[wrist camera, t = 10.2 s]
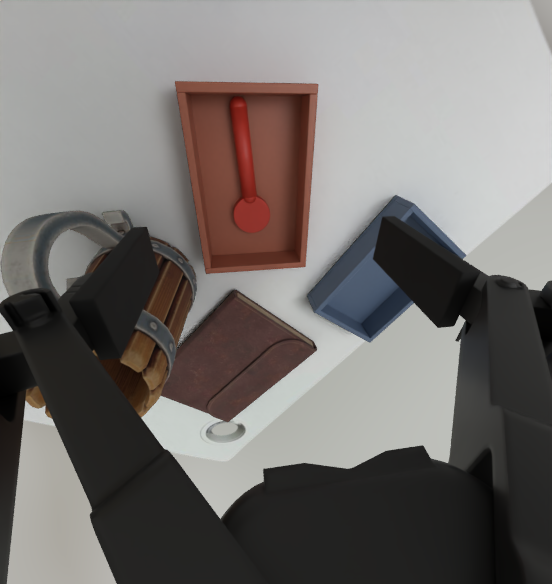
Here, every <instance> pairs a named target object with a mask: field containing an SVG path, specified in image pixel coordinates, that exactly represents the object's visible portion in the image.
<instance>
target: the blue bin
mask: <svg viewBox="0 0 552 584" xmlns="http://www.w3.org/2000/svg"><path fill="white" fill-rule="evenodd" d="M384 216H395V217H397V218H398V219H400V220H401V221H403V222H405V223H406V224H408V225H409V226H411V227H412V228H414V229H415V230H417V231H418V232H420V233H422V234H423V235H425V236H426V237H428V238H429V239H431V240H432V241H434V242H435V243H437V244H439V245H440V246H442V247H443V248H445V249H446V250H448V251H449V252H451V253H453V254H455V255H457V256H458V257H460V258H461V259H463V258H464V257H465V256H466V254H465V253H464V252H462V251H461V250H460V249H459V248H458V247H457V246H456V245H455V244H454V243H453V242H452V241H451V240H450V239H449V238H448V237H447V236H446V235H445V234H444V233H443V232H442V231H441V230H440V229H439V228H438V227H437V226H436V225H435V224H434V223H433V222H432V221H431V220H430V219H429V218H428V217H427V216H426V215H425V214H424V213H423V212H422V211H421V210H420V209H419V208H418V207H417V206H416V205H415V204H414V203H412V202H409V201H407V200H405V199H403V198H401V197H399V196H397V195H396V196H395V197H394V198H393V199H392V200H391V201H390V203H389V204H388V205H387V206H386V207H385V208H384V209H383V210H382V212H381V213H380V214H379V215H378V216H377V217H376V218H375V219H374V221H373V222H372V223H371V224H370V225H369V226H368V227H367V229H366V230H365V231H364V232H363V233H362V234H361V235H360V236H359V238H358V239H357V240H356V241H355V242H354V243H353V244H352V245H351V247H350V248H349V249H348V250H347V251H346V252H345V253H344V255H343V256H342V257H341V258H340V259H339V260H338V261H337V262H336V264H335V265H334V266H333V267H332V268H331V269H330V270H329V271H328V273H327V274H326V275H325V276H324V277H323V278H322V279H321V280H320V282H319V283H318V284H317V285H316V286H315V287H314V288H313V290H312V291H311V292H310V293H309V294H308V295H307V297H308V299H309V302H310V304H311V306H312V309H313V311H314V312H315V313H316V314H318V315H320V316H322V317H324V318H326V319H327V320H329V321H331V322H333V323H335V324H337V325H338V326H340V327H342V328H344V329H346V330H348V331H349V332H351V333H353V334H355V335H357V336H359V337H360V338H362V339H364V340H366V341H368V342H371V341H372V340H373V339H374V338H376V337H377V336H378V335H379V334H380V333H381V332H382V331H383V330H385V329H386V327H388V326H389V325H390V324H391V323H392V322H393V321H394V320H395V319H397V318H398V317H399V316H400V315H401V314H402V313H403V312H404V311H406V310H407V309H408V308H409V307H410V306H411V305H412V304H413V303H414V302H413V301H412V300H411V299H410V298H409V297H408V296H407V295H406V294H405V293H404V292H403V291H402V289H401V288H400V287H399V286H398V285H397V284H396V283H395V282H394V281H393V280H392V279H391V278H390V277H389V276H388V275H387V274H386V273H385V272H384V270H383V269H382V268H381V267H380V266H379V265H378V264H377V263H376V262H375V261H374V260H373V255H374V251H375V246H376V242H377V237H378V233H379V229H380V224H381V220H382V217H384Z"/></svg>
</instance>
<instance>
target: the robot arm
mask: <svg viewBox="0 0 552 584" xmlns="http://www.w3.org/2000/svg"><path fill="white" fill-rule="evenodd" d="M373 260H374V261H375V262H376V263H377V264H378V265H379V266H380V267H381V268H382V269H383V270H384V272H385V273H386V274H387V275H388V276H389V277H390V278H391V279H392V280H393V281H394V282H395V283H396V284H397V285H398V286H399V287H400V288H401V289H402V291H403V292H404V293H405V294H406V295H407V296H408V297H409V298H410V299H411V300H412V301H413V302H414V303H415V304H416V305H417V306H418V307H419V308H420V309H421V311H422V312H423V313H424V314H425V315H426V316H427V317H428V318H429V319H430V320H431V321H432V322H433V323H434V324H435V325H436V326H437V327H438V328H441V327H451V326H454V325H455V323H456V321H457V319H458V317H459V315H460V316H462V317H463V318H464V319H465V320H466V321H465V323H464V325H463V327H462V329H461V331H460V333H459V335H458V337H457V339H456V341H459V340H460V339H461V344H460V355H459V366H458V376H457V386H456V397H455V407H454V418H453V428H452V439H451V449H450V458H449V462H448V463H445V462H442V461H438V460H434V459H431V458H430V457H429V455H428V453H427V452H426V450H425V448H424V446H416V447H409V448H403V449H396V450H389V451H385V452H383V453H381V454H379V455H377V456H375V457H374V458H371V459H369V460H367V461H365V462H363V463H361V464H359V465H358V466H356V467H354V468H350V469H344V468H337V467H329V466H322V465H315V464H307V463H302V464H295V465H288V466H281V467H275V468H268V469H264V470H263V473H264V482H262V483H260V484H258V485H256V486H254V487H253V488H251V489H250V490H248V491H247V492H245V493H244V494H243V495H242V496H240V497H239V498H238V499H237V500H236V501H235V502H234V503H233V504H232V505H231V506H230V508H229V509H228V510H227V511H226V512H225V514H224V515H223V516H222V518H221V519H220V518H219V517H218V515H217V514H216V513H215V512H214V510H213V509H212V508H211V506H210V505H209V503H208V502H207V501H206V500H205V498H204V497H203V495H202V494H201V493H200V491H199V490H198V489H197V487H196V486H195V485H194V483H193V482H192V481H191V479H190V478H189V477H188V475H187V474H186V473H185V471H184V470H183V469H182V467H181V466H180V464H179V463H178V462H177V460H176V459H175V458H174V457H173V455H172V454H171V453H170V452H169V451H168V450H165V449H164V448H163V447H162V446H161V444H160V443H159V442H158V440H157V439H156V438H155V436H154V435H153V434H152V432H151V431H150V430H149V428H148V427H147V425H146V424H145V423H144V421H143V420H142V419H141V417H140V416H139V414H138V413H137V412H136V410H135V409H134V408H133V406H132V405H131V404H130V402H129V401H128V399H127V398H126V397H125V395H124V394H123V393H122V391H121V390H120V389H119V387H118V386H117V384H116V383H115V382H114V380H113V379H112V378H111V376H110V375H109V374H108V372H107V371H106V369H105V368H104V367H103V365H102V364H101V363H100V361H99V360H107V359H117V358H121V357H122V355H123V353H124V350H125V348H126V346H127V344H128V341H129V339H130V337H131V335H132V333H133V330H134V328H135V326H136V324H137V321H138V319H139V317H140V315H141V313H142V310H143V308H144V306H145V304H146V301H147V299H148V297H149V295H150V292H151V290H152V288H153V286H154V284H155V281H156V279H157V277H158V275H159V269H158V265H157V262H156V258H155V254H154V251H153V247H152V243H151V240H150V236H149V233H148V229H147V227H135V228H131V229H130V230H129V231H128V233H127V234H126V235H125V236H124V237H123V238H122V240H121V241H120V242H119V243H118V244H117V245H116V247H115V248H114V249H113V250H112V251H111V252H110V254H109V255H108V256H107V257H106V258H105V259H104V261H103V262H102V263H101V264H100V265H99V266H98V268H97V269H96V270H95V271H94V272H91V273H87V274H85V275H83V276H82V277H80V278H78V279H77V280H76V281H75V282H74V283H73V284H72V285H71V287H70V288H69V289H68V290H67V291H66V293H64V294H63V295H62V296H61V297H60V298H59V299H58V301H57V300H56V298H55V296H54V295H53V293H52V291H51V290H49V289H47V288H35V289H29V290H25V291H22V292H19V293H16V294H14V295H12V296H10V297H8V298H6V299H5V300H3V301H2V302H1V303H0V313H1V314H2V316H3V317H4V318H5V320H6V321H7V322H8V324H9V325H10V327H11V328H12V329H13V331H12V332H8V333H4V334H0V584H7V574H8V565H9V554H10V544H11V535H12V526H13V516H14V515H13V514H14V506H15V496H16V486H17V476H18V467H19V457H20V447H21V438H22V428H23V418H24V408H25V399H26V390H27V389H30V388H33V387H36V386H38V387H39V390H40V392H41V394H42V396H43V399H44V401H45V403H46V405H47V408H48V410H49V412H50V414H51V417H52V419H53V421H54V423H55V426H56V428H57V430H58V432H59V435H60V437H61V439H62V441H63V443H64V446H65V448H66V450H67V453H68V455H69V457H70V459H71V462H72V464H73V466H74V468H75V471H76V473H77V475H78V477H79V479H80V482H81V484H82V486H83V489H84V491H85V493H86V495H87V498H88V500H89V502H90V505H91V507H92V513H91V514H90V518H91V523H92V525H93V528H94V531H95V534H96V536H97V538H98V540H99V543H100V545H101V548H102V550H103V552H104V555H105V557H106V559H107V562H108V564H109V566H110V569H111V571H112V573H113V576H114V578H115V581H116V583H117V584H552V281H548V282H547V283H546V285H545V286H544V288H543V289H542V291H537V290H528V287H527V286H526V285H525V284H524V283H522V282H520V281H518V280H516V279H514V278H511V277H507V276H501V275H492V276H488V275H486V274H484V273H483V272H481V271H480V270H478V269H477V268H475V267H474V266H472V265H470V264H469V263H467V262H466V261H463V259H461V258H460V257H458V256H457V255H455V254H453V253H451V252H449V251H448V250H446V249H445V248H443V247H442V246H440V245H439V244H437V243H435V242H434V241H432V240H431V239H429V238H428V237H426V236H425V235H423V234H422V233H420V232H418V231H417V230H415V229H414V228H412V227H411V226H409V225H408V224H406V223H405V222H403V221H401V220H400V219H398V218H397V217H395V216H384V217H382V220H381V224H380V229H379V233H378V237H377V242H376V246H375V251H374V255H373ZM93 350H95V352H96V354H97V356H98V358H99V360H98V359H97V357H96V356H95V354H94V353H93Z"/></svg>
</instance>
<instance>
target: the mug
mask: <svg viewBox="0 0 552 584" xmlns="http://www.w3.org/2000/svg"><path fill="white" fill-rule="evenodd" d="M102 215H103V217H104V220H105V222H104V221H103V220H101V219H100V218H98V217H97V216H95V215H93V214H90V213H88V212H84V211H68V212H59V213H50V214H44V215H38V216H34V217H31V218H28V219H26V220H24V221H23V222H21V223H20V224H18V225H17V226H16V227H15V228H14V229H13V230H12V232H11V233H10V235H9V236H8V238H7V240H6V242H5V245H4V249H3V252H2V259H1V272H2V278H3V283H4V285H5V287H6V290H7V292H8V294H9V296H12V295H14V294H16V293H19V292H22V291H25V290H29V289H35V288H47V289H49V290H51V291H52V293H53V295H54V296H55V298H56V300H57V301H58V299H59V298H60V297H61V296H60V295H59V294H58V293H57V291H56V290H55V288H54V286H53V285H52V282H51V279H50V277H49V271H48V258H49V253H50V250H51V247H52V245H53V243H54V241H55V240H56V238H57V237H58V236H59V235H60V234H62V233H63V232H65V231H67V230H69V229H70V230H74V231H76V232H78V233H80V234H82V235H84V236H86V237H88V238H89V239H91V240H92V241H94V242H95V243H97V244H98V245H100V246H102V247H103V248H101V250H100V251H99V252H98V253H97V254H96V255H95V257H94V258H93V259H92V261H91V262H90V264H89V265H88V266H87V269H86V272H85V274H87V273H91V272H94V271H95V270H96V269H97V268H98V266H99V265H100V264H101V263H102V262H103V261H104V259H105V258H106V257H107V256H108V255H109V254H110V252H111V251H112V250H113V249H114V248H115V247H116V245H117V244H118V243H119V242H120V241H121V240H122V238H123V237H124V236H125V235H126V234H127V233H128V231H129V230H130V229H131V228H133V225H132V222H131V219H130V217H129V216H128V214H127V213H126V212H125V211H124V210H119V211H110V212H103V213H102ZM108 224H110V225H111V226H112V227H111V226H109V225H108ZM150 240H151V243H152V247H153V251H154V254H155V258H156V262H157V265H158V269H159V275H158V277H157V279H156V281H155V284H154V286H153V288H152V290H151V292H150V295H149V297H148V299H147V301H146V304H145V306H144V308H143V310H142V313H141V315H140V317H139V319H138V321H137V324H136V326H135V328H134V330H133V333H132V335H131V337H130V339H129V341H128V344H127V346H126V348H125V350H124V353H123V355H122V357H121V358H117V359H107V360H99V358H98V356H97V354H96V352H95V350H93V353H94V354H95V356H96V357H97V359H98V360H99V361H100V363H101V364H102V365H103V367H104V368H105V369H106V371H107V372H108V374H109V375H110V376H111V378H112V379H113V380H114V382H115V383H116V384H117V386H118V387H119V389H120V390H121V391H122V393H123V394H124V395H125V397H126V398H127V399H128V401H129V402H130V404H131V405H132V406H133V408H134V409H135V410H136V412H137V413H138V414H139V416H140V417H142V416H144V415H145V414H146V413H147V412H148V410H149V409H150V408H151V407H152V406H153V405H154V404H155V403H156V402H157V400H158V399H159V397H160V395H161V392H162V389H163V387H164V384H165V382H166V381H167V379H168V378H169V375H170V372H171V369H172V366H173V363H174V360H175V355H176V348H177V345H178V342H179V339H180V336H181V333H182V330H183V327H184V324H185V321H186V318H187V315H188V313H189V311H190V310H191V308H192V305H193V302H194V299H195V295H196V290H197V285H196V276H195V272H194V270H193V267H192V266H191V265H189V264H188V261H189V260H188V259H187V258H186V257H185V256H184V255H183V254H182V253H181V252H180V251H179V250H178V249H176V248H174V247H170V245H169V244H168V243H166V242H164V241H162V240H159V239H156V238H152V237H150ZM78 278H80V277H77V278H69V279H67V290H68V289H69V288H70V287H71V285H72V284H73V283H74V282H75V281H76V280H77V279H78ZM25 400H26V401H27V402H28V403H29V404H30V405H31V406H32V407H35V408H38V409H39V408H42V407H43V406H45V405H46V403H45V401H44V399H43V396H42V394H41V392H40V390H39V387H38V386H36V387H33V388H30V389H27V390H26V399H25ZM45 413H46V415H47V416H48V417H50V418H52V417H51V414H50V412H49V410H48V408H47V405H46V409H45Z"/></svg>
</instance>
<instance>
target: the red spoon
mask: <svg viewBox="0 0 552 584" xmlns="http://www.w3.org/2000/svg"><path fill="white" fill-rule="evenodd" d="M230 113H231V121H232V128H233V135H234V142H235V149H236V156H237V163H238V170H239V177H240V185H241V192H242V197H241V198H240V199H239V200H238V201H237V202H236V204H235V206H234V210H233V215H234V220H235V223H236V225H237V226H238V227H239V228H240V229H241V230H243V231H245V232H249V233H255V232H259V231H261V230H263V229H264V228H265V227H266V226H267V224H268V222H269V220H270V210H269V207H268V205H267V203H266V201H265V200H264V199H263V198H261V197H260V196H258V195H257V192H256V183H255V174H254V165H253V156H252V147H251V138H250V129H249V120H248V111H247V104H246V101H245V100H244V99H243V98H242V97H240V96H235V97H234V98H232V100H231V101H230Z"/></svg>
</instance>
